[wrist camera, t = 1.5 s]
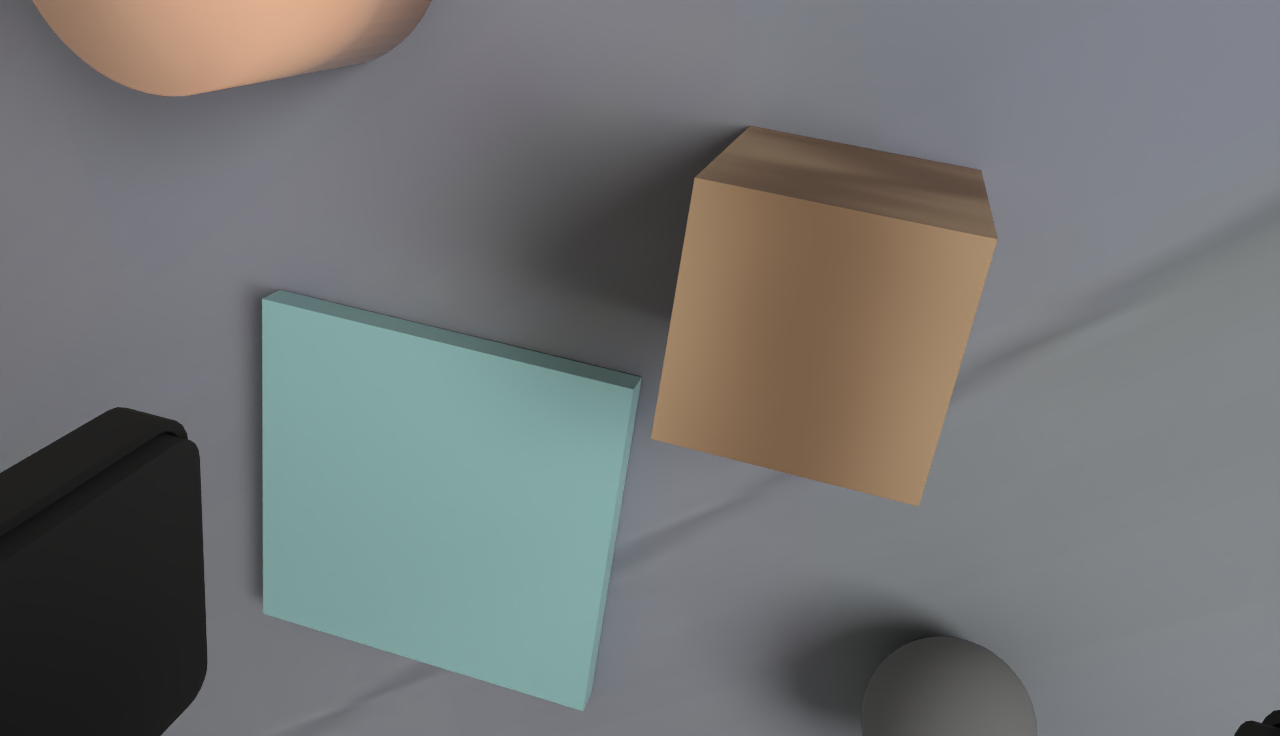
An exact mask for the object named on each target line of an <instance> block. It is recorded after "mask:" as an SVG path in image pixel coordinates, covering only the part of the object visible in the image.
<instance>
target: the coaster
mask: <svg viewBox="0 0 1280 736" xmlns="http://www.w3.org/2000/svg"><path fill="white" fill-rule="evenodd" d="M641 380H642V377H638V376H634V375H630V374H626V373H622V372H618V371H614V370H609V369H605V368H601V367H597V366H593V365H589V364H585V363H580V362H576V361H572V360H568V359H564V358H560V357H556V356H551V355H547V354H543V353H539V352H535V351H531V350H527V349H523V348H518V347H514V346H510V345H506V344H502V343H498V342H494V341H489V340H485V339H481V338H477V337H473V336H469V335H465V334H461V333H456V332H452V331H448V330H444V329H440V328H436V327H432V326H427V325H423V324H419V323H415V322H411V321H407V320H403V319H399V318H394V317H390V316H386V315H382V314H378V313H374V312H370V311H365V310H361V309H357V308H353V307H349V306H345V305H341V304H337V303H332V302H328V301H324V300H320V299H316V298H312V297H308V296H303V295H299V294H295V293H291V292H287V291H283V290H278V291H276V292H274V293H272V294H270V295H268V296H266V297H265V298H263V299H262V429H263V614H266V615H269V616H273V617H276V618H279V619H283V620H286V621H289V622H292V623H296V624H299V625H302V626H305V627H309V628H312V629H315V630H319V631H322V632H325V633H328V634H332V635H335V636H338V637H342V638H345V639H348V640H351V641H355V642H358V643H361V644H364V645H368V646H371V647H374V648H378V649H381V650H384V651H387V652H391V653H394V654H397V655H401V656H404V657H407V658H410V659H414V660H417V661H420V662H424V663H427V664H430V665H433V666H437V667H440V668H443V669H446V670H450V671H453V672H456V673H460V674H463V675H466V676H469V677H473V678H476V679H479V680H483V681H486V682H489V683H492V684H496V685H499V686H502V687H505V688H509V689H512V690H515V691H519V692H522V693H525V694H528V695H532V696H535V697H538V698H542V699H545V700H548V701H551V702H555V703H558V704H561V705H565V706H568V707H571V708H574V709H578V710H581V711H583V710H584V708H585V706H586V704H587V701H588V699H589V697H590V695H591V692H592V686H593V680H594V674H595V667H596V661H597V655H598V649H599V642H600V636H601V630H602V624H603V617H604V611H605V605H606V599H607V592H608V586H609V580H610V574H611V567H612V561H613V555H614V549H615V542H616V536H617V530H618V523H619V517H620V511H621V505H622V498H623V492H624V486H625V480H626V473H627V467H628V461H629V455H630V448H631V442H632V436H633V430H634V423H635V417H636V411H637V405H638V398H639V392H640V386H641Z"/></svg>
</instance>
